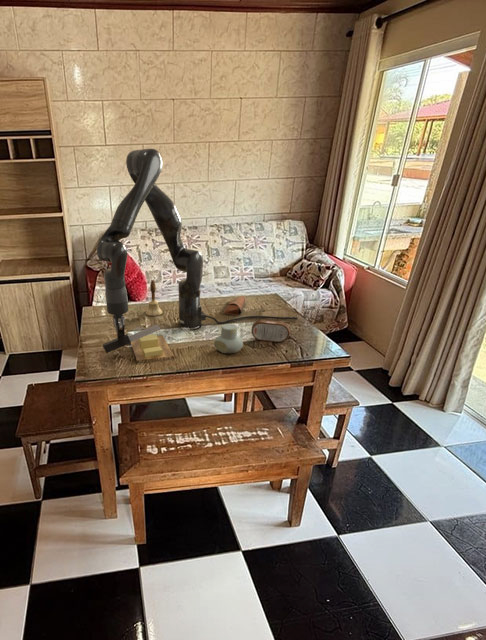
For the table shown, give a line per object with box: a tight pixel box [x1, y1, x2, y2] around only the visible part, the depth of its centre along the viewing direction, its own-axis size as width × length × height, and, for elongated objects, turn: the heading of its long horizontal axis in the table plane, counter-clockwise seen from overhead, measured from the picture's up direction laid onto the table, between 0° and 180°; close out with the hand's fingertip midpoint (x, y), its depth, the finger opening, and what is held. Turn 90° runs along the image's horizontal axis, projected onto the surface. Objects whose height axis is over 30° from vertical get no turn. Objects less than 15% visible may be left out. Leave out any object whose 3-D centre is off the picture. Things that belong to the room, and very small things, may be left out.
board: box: [130, 335, 174, 361], centre depth 160 cm, size 14×20×1 cm
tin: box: [251, 319, 291, 343], centre depth 162 cm, size 15×3×8 cm, turn 71°
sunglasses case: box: [223, 295, 246, 316], centre depth 197 cm, size 18×7×7 cm
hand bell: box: [145, 279, 164, 317], centre depth 193 cm, size 8×8×16 cm
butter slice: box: [143, 346, 163, 358], centre depth 154 cm, size 7×2×4 cm
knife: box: [102, 323, 161, 354], centre depth 151 cm, size 22×2×3 cm, turn 102°
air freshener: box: [214, 323, 244, 354], centre depth 155 cm, size 11×8×10 cm
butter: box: [139, 333, 159, 349], centre depth 161 cm, size 7×5×4 cm
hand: (121, 343), depth 152 cm, fingers closed on knife, 2 cm apart
